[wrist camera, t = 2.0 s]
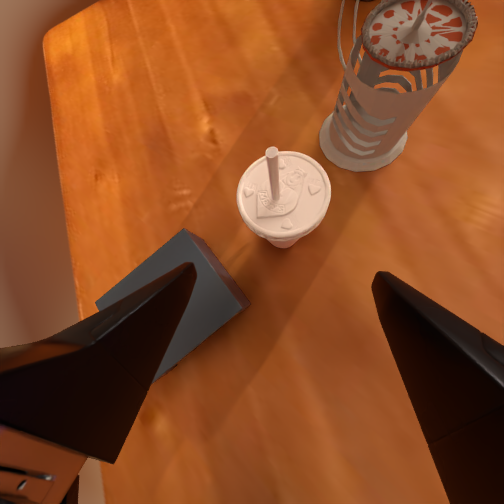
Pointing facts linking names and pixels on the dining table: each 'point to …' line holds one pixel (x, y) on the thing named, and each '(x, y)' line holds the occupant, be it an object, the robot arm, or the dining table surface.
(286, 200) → the smoothie
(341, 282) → the dining table surface
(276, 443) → the dining table surface
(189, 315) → the grey footed stand
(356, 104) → the french press
